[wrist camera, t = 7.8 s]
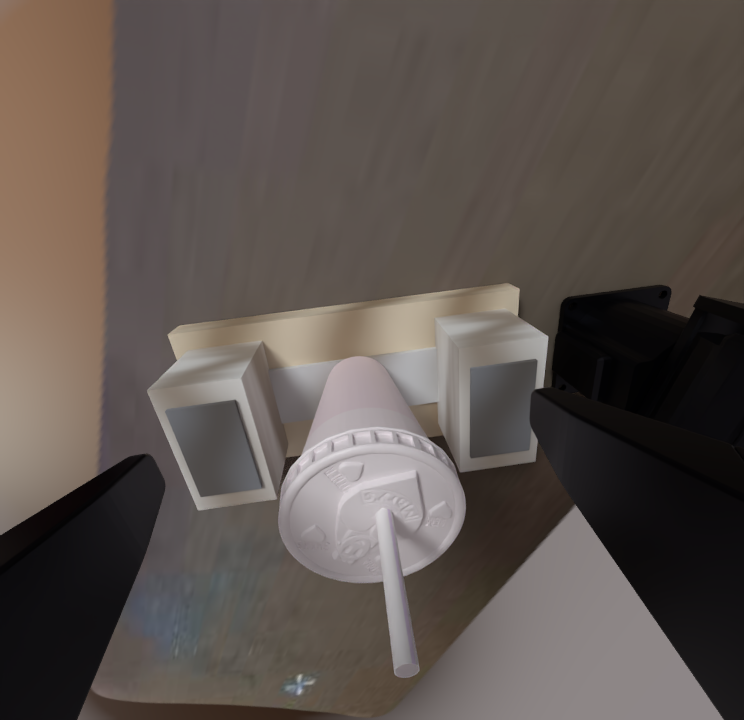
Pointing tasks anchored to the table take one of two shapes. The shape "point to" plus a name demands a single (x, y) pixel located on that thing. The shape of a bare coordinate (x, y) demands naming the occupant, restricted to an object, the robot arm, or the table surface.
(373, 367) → the smoothie
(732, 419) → the robot arm
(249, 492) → the board
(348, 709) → the table surface
